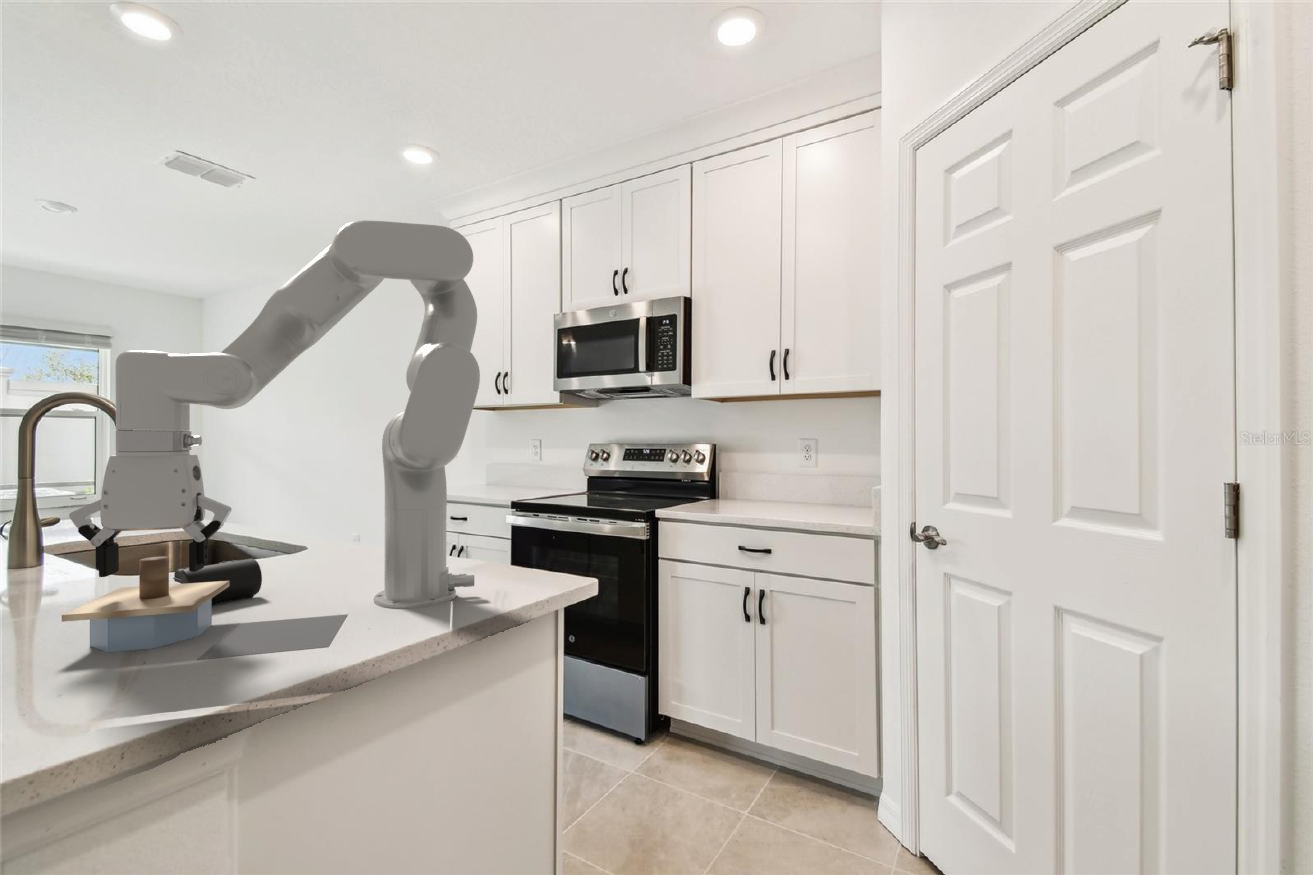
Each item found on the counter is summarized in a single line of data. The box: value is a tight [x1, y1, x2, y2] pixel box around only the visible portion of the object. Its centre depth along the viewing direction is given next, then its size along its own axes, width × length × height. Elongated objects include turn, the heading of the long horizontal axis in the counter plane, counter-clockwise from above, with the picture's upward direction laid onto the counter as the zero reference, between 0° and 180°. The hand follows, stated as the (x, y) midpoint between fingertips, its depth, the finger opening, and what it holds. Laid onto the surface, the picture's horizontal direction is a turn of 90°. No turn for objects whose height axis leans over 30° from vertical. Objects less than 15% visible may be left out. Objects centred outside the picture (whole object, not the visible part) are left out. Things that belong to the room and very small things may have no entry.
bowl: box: [89, 598, 213, 653], centre depth 79 cm, size 11×11×5 cm
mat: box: [196, 614, 349, 661], centre depth 79 cm, size 14×14×1 cm
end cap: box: [172, 558, 263, 606], centre depth 94 cm, size 10×7×7 cm
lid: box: [61, 556, 229, 622], centre depth 79 cm, size 13×13×6 cm
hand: (153, 572), depth 79 cm, fingers open, 9 cm apart
